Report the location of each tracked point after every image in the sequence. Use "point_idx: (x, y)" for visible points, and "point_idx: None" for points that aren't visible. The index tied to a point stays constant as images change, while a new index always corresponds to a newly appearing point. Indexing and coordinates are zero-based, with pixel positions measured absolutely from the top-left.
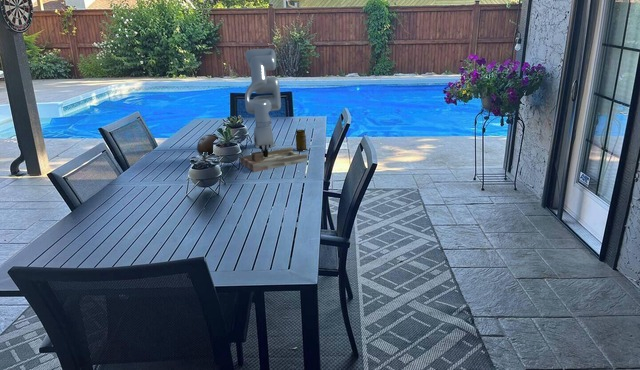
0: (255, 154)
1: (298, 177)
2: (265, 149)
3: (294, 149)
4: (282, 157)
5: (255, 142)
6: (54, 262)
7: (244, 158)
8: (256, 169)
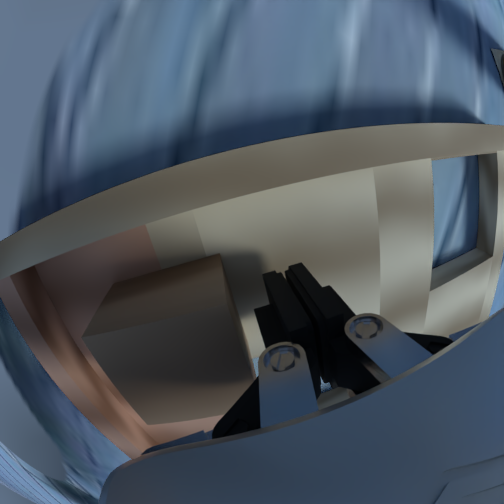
0: (154, 418)
1: None
2: (333, 371)
3: (495, 52)
4: (421, 300)
5: (127, 500)
6: (19, 494)
7: (38, 346)
8: None
